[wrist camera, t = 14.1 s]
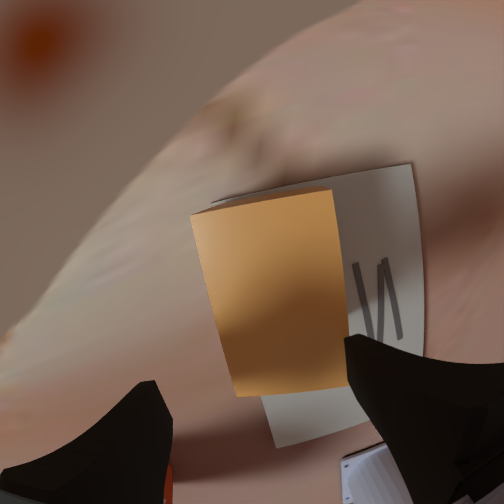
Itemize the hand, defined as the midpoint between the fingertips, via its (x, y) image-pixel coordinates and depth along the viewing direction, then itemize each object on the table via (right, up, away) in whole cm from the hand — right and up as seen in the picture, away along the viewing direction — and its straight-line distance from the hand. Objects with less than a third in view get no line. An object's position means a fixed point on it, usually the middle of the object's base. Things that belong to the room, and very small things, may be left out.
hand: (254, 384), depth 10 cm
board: (+6, 0, +8) cm, 10 cm away
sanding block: (+2, +4, +6) cm, 7 cm away
